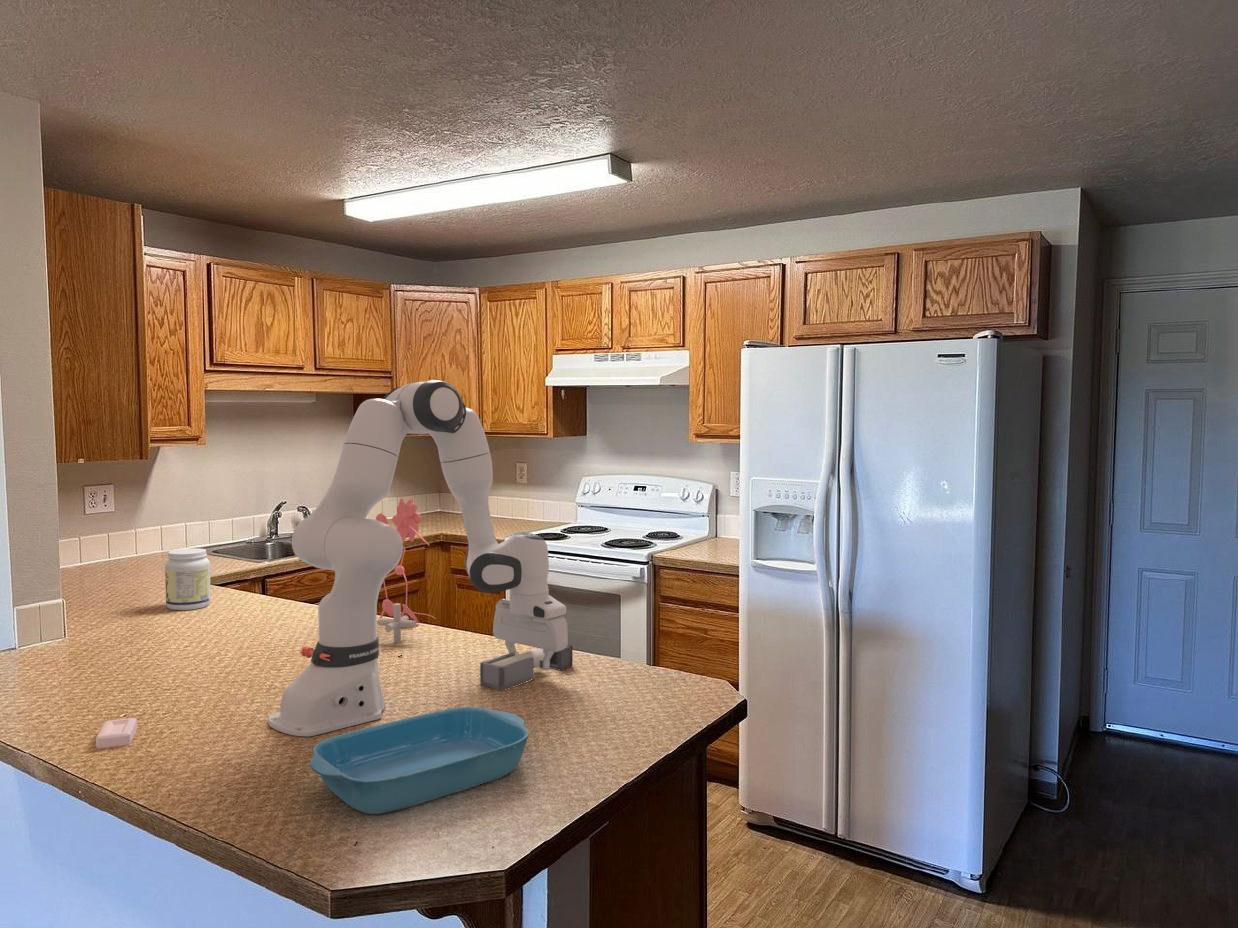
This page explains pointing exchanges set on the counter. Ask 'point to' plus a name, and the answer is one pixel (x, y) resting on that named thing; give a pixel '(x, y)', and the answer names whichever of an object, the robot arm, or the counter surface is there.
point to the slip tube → (535, 654)
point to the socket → (562, 658)
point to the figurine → (406, 527)
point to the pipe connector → (397, 622)
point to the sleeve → (506, 673)
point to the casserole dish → (420, 757)
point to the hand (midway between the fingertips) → (529, 663)
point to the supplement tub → (187, 579)
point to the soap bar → (116, 733)
